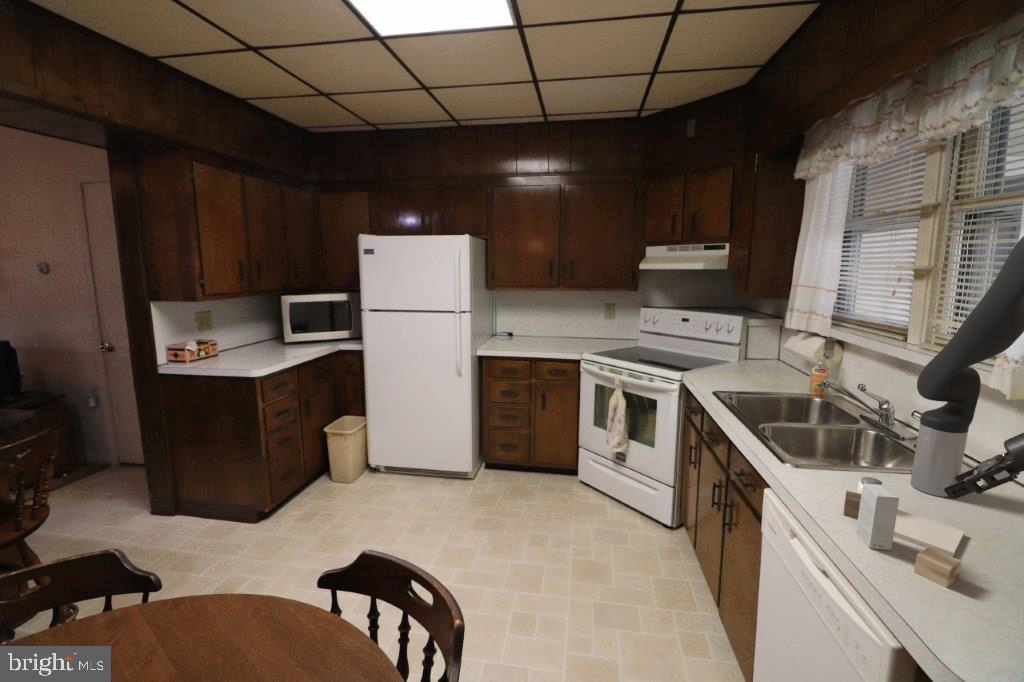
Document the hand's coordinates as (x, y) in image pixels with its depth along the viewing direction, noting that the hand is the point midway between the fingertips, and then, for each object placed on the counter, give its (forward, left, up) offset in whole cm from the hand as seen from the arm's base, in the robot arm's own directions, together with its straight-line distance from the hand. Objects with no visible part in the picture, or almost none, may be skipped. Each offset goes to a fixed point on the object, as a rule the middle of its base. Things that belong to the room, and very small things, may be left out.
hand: (953, 488), depth 91 cm
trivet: (-12, -5, -17) cm, 21 cm away
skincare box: (0, -11, -17) cm, 20 cm away
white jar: (-16, -16, -17) cm, 28 cm away
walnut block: (-10, -17, -17) cm, 26 cm away
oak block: (+4, 0, -17) cm, 18 cm away
